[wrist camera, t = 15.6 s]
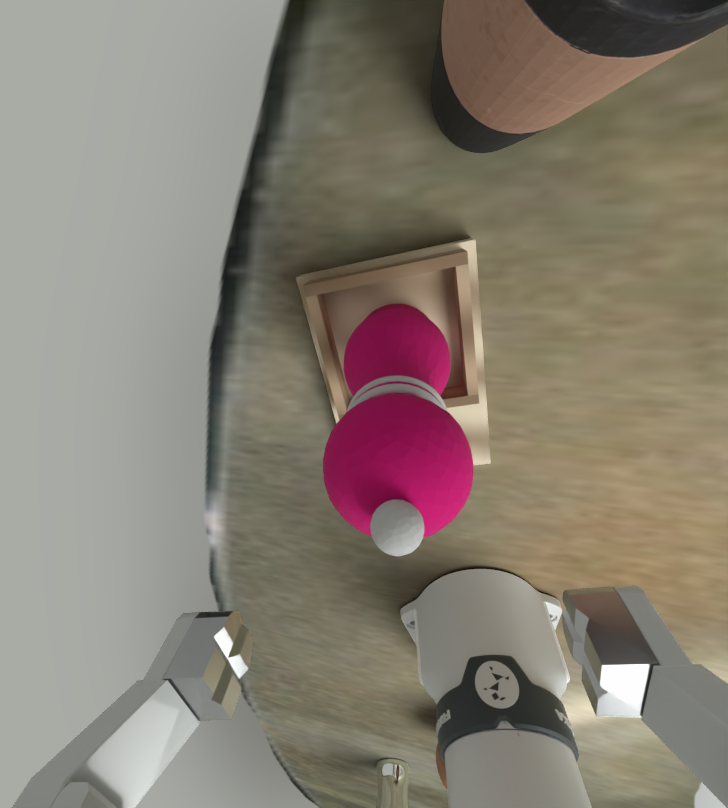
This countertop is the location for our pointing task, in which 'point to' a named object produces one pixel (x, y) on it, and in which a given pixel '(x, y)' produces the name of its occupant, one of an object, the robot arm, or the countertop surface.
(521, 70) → the travel mug
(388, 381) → the pepper mill
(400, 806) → the beer glass
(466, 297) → the mill holder
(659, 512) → the countertop surface
